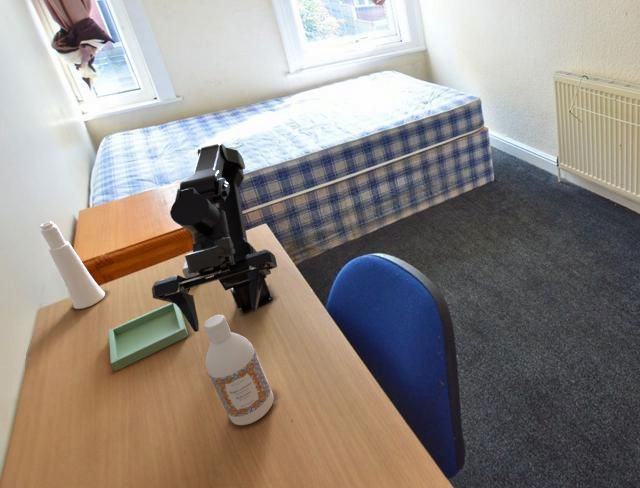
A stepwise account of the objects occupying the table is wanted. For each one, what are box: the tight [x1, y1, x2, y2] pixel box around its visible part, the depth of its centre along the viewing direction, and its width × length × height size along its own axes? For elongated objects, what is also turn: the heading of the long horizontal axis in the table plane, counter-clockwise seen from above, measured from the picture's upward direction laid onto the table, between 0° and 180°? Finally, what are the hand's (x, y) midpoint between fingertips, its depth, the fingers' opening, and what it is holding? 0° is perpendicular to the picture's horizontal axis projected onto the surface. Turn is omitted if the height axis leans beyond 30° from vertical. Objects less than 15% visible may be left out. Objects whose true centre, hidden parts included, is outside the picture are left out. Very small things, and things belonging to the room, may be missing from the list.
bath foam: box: [203, 314, 274, 426], centre depth 78 cm, size 7×7×20 cm
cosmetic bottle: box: [39, 221, 106, 310], centre depth 110 cm, size 6×6×22 cm
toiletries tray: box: [108, 302, 189, 372], centre depth 100 cm, size 13×13×2 cm
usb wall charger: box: [181, 259, 199, 278], centre depth 120 cm, size 4×7×4 cm, turn 25°
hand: (226, 321), depth 83 cm, fingers open, 9 cm apart
